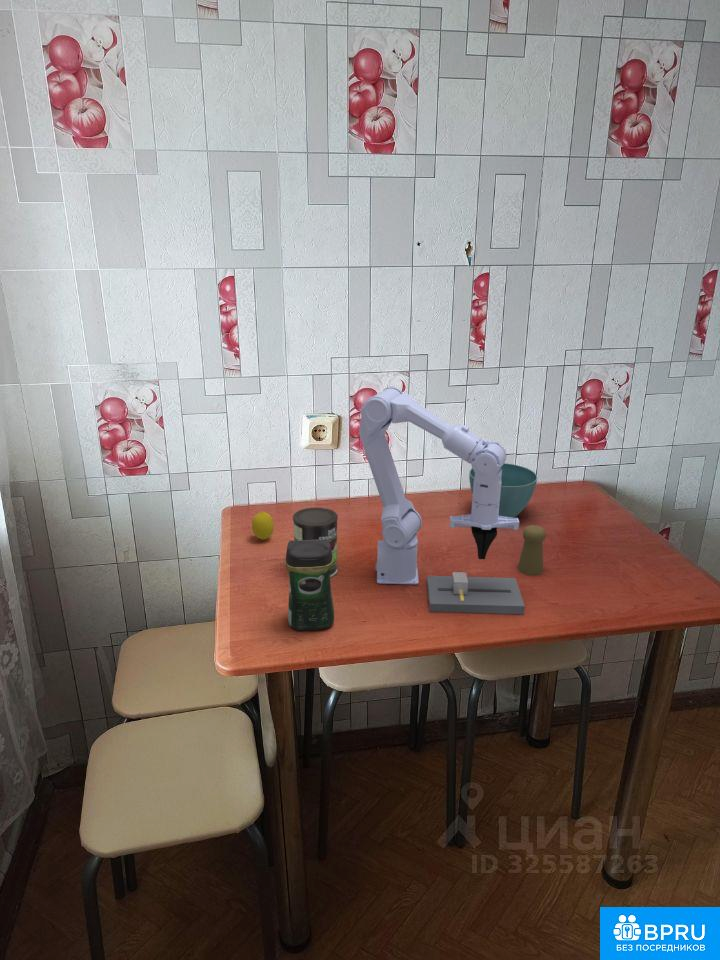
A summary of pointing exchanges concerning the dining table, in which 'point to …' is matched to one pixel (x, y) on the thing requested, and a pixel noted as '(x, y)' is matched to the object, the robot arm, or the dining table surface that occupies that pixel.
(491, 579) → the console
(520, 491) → the teal bowl
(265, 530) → the lemon
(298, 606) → the coffee jar
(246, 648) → the dining table surface
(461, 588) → the fader
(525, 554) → the cork
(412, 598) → the dining table surface
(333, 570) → the coffee can
